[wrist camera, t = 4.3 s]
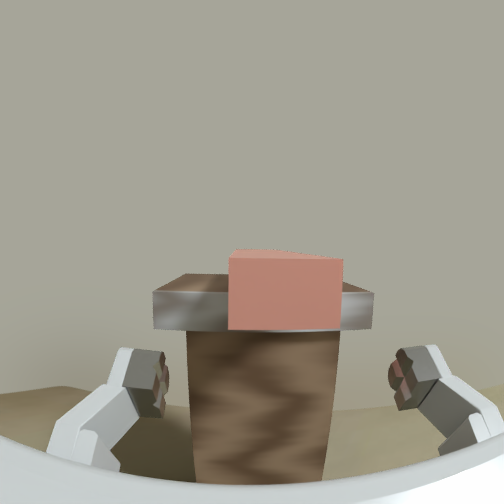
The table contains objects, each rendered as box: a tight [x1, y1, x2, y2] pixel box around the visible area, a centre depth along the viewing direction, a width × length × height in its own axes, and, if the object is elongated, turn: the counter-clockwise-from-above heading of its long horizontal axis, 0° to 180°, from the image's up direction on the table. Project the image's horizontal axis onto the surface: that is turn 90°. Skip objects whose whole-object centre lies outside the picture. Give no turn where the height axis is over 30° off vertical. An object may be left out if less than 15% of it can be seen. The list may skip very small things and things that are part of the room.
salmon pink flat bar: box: [228, 249, 343, 330], centre depth 22 cm, size 4×22×2 cm, turn 2°
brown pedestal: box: [153, 274, 374, 485], centre depth 26 cm, size 14×13×25 cm
